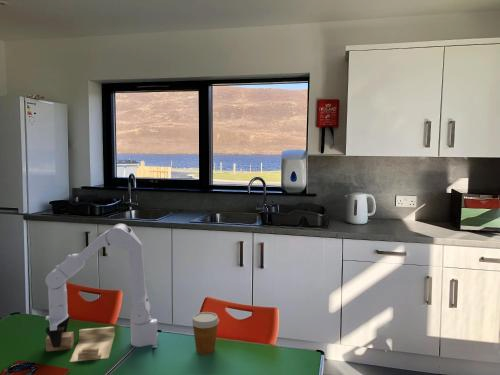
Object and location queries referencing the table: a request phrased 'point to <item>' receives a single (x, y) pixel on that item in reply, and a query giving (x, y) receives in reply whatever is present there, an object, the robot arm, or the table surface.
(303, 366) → the table surface
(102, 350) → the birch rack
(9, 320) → the table surface
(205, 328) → the disposable coffee cup
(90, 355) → the offcut stack
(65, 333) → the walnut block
